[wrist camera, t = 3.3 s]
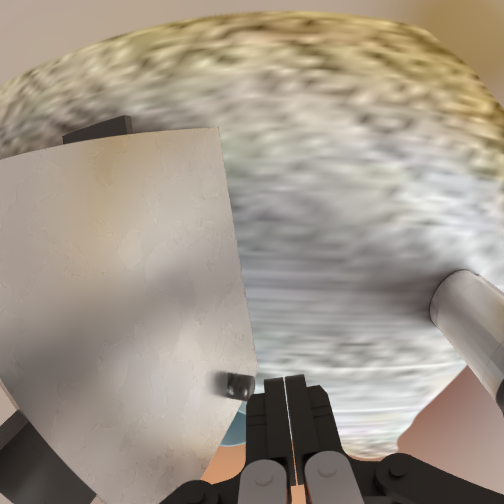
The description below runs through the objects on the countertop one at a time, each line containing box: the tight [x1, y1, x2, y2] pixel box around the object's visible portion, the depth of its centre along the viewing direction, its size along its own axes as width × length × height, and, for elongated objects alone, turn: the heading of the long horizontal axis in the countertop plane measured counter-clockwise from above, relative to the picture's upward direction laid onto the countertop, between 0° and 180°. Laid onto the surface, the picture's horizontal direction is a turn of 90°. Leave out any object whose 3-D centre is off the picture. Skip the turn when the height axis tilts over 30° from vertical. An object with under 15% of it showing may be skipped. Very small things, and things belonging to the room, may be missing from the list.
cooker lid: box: [0, 127, 259, 504], centre depth 14 cm, size 21×20×2 cm
